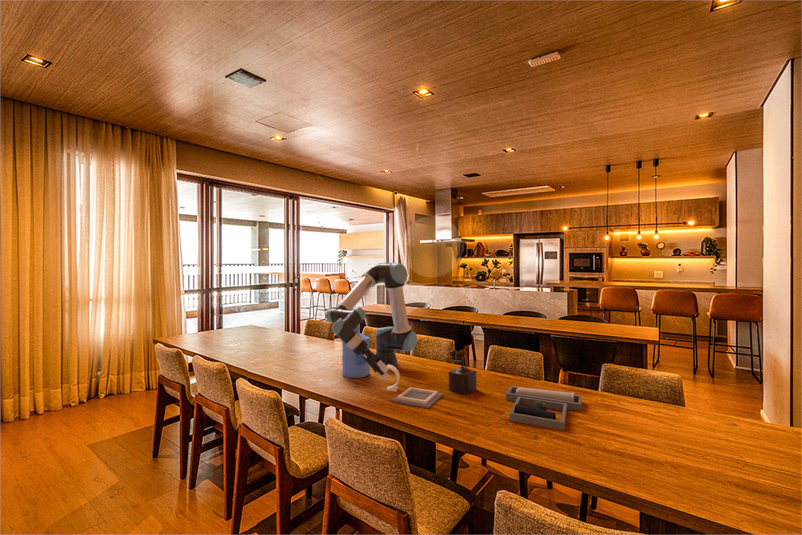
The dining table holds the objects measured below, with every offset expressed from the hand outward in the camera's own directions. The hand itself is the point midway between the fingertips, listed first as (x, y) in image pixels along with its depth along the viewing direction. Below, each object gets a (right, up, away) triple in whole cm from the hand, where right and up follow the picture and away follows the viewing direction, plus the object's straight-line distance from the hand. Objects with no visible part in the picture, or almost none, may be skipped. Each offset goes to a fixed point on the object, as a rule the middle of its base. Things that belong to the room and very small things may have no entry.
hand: (387, 374), depth 187 cm
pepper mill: (+36, -8, +3) cm, 37 cm away
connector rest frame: (+64, -8, -31) cm, 71 cm away
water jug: (-19, -8, +27) cm, 34 cm away
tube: (+72, -8, -14) cm, 74 cm away
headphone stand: (+3, -8, +1) cm, 9 cm away
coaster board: (+14, -8, -11) cm, 20 cm away
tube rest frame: (+72, -8, -15) cm, 74 cm away
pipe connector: (+62, -9, -33) cm, 71 cm away
